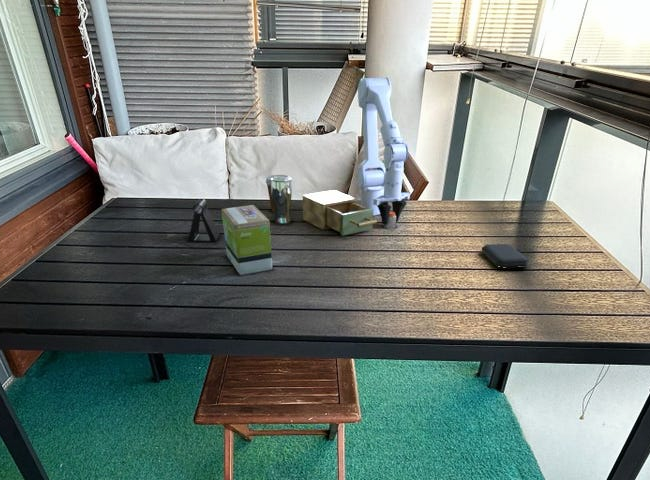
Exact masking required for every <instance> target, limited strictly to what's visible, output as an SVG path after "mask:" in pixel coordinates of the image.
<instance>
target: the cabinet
mask: <svg viewBox="0 0 650 480" xmlns="http://www.w3.org/2000/svg"><path fill="white" fill-rule="evenodd" d="M348 202H353V203H356V204H357V198H356V197H353V196H351V195H348V194H345V193H343V192H340V191H338V190H335V189H332V190H326V191H319V192H314V193H309V194H303V195H302V220H303V221H305V222H307V223H309V224H311V225H313V226H314V227H317V228H319V229H321V230H323V231H326V230H330V229H331V228H330V227H328V226H326V225H325V207H326V206H331V205H337V204H342V203H348Z"/></svg>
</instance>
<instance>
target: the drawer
mask: <svg viewBox="0 0 650 480" xmlns="http://www.w3.org/2000/svg"><path fill="white" fill-rule="evenodd" d="M373 210H374V209H372V208H370V209H367V208H366V207H363V206H361V205H360V204H358V203H357V202H356V203H353V202H348V203H342V204H337V205H331V206H326V207H325V225H326V226H328V227H330V229H332V230H334V231H336V232H338V233H339V234H340V236H342V237H343V236H348V235H353V234H356V233H357V234H358V233H361V232H365V231H370V230H373V225H377V220H376V219H374V216H373Z"/></svg>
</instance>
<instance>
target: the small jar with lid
mask: <svg viewBox="0 0 650 480" xmlns="http://www.w3.org/2000/svg"><path fill="white" fill-rule="evenodd" d="M396 217H397V215H396V214H395V212H393V210H390V212H389V217H388V224H387V225H385V224H383V228H385V229H387V230H388V229H389V230H392V229H395V228H396V227H397V223H396Z"/></svg>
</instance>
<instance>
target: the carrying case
mask: <svg viewBox="0 0 650 480" xmlns="http://www.w3.org/2000/svg"><path fill="white" fill-rule="evenodd" d="M481 252H482V253H483V255H484V256H485V257H486V258H487V259H488V260H489V261H490V262H491V263H492V265H494V266H495V267H496V268H498V269H499V270H513V269H514V270H517V269H525V268H526V267H527V265H528V266H529V264H530V262H529V259H528V258H526V257H525V256H524V255H523V254H522V253H521V252H520V249H517V248H516V247H514V246H512V245H511V244H509V243H492V244H491V243H489V244H488V243H487V244H484V246H482V247H481ZM495 264H496V265H497V266H496V265H495ZM498 266H500V267H498ZM518 266H526V267H518ZM503 267H506V268H503Z"/></svg>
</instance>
